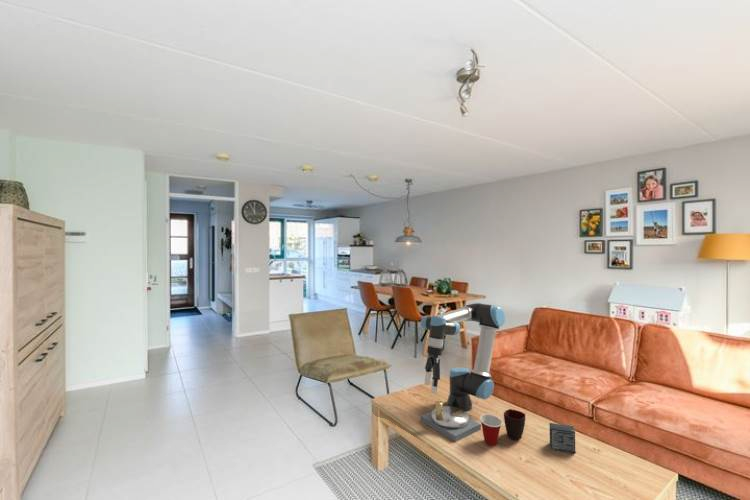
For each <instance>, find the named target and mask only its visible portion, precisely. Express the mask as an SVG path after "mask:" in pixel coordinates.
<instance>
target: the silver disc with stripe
mask: <svg viewBox="0 0 750 500" xmlns="http://www.w3.org/2000/svg"><path fill="white" fill-rule="evenodd" d="M431 411H432V421H433V422H434V423H435V424H437V425H438V426H441V427H444V428H449V429H458V428H462V427H465V426H466V425H467V424H468V422H469V418H470V416H469V414H468V413H467V411H466V412H465V411H463V410H462V409H459V408H456V407H450V406H447V405H444V406H443V401H440V400H436V401H435V408H434V409H432V410H431Z"/></svg>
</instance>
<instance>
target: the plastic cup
mask: <svg viewBox="0 0 750 500" xmlns="http://www.w3.org/2000/svg"><path fill="white" fill-rule="evenodd" d="M479 420H480V424H481V429H482V434H483V440H484V443H485V444H486V445H487V446H490V447H491V446H492V447H494V446H496V445H497V444H498V440H499V435H500V429H501V427H502V425H503V420H502V419H501V418H500V417H498V416H497V415H494V414H489V413H488V414H487V413H485V414H482V415H480V416H479Z"/></svg>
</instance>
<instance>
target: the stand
mask: <svg viewBox="0 0 750 500" xmlns="http://www.w3.org/2000/svg"><path fill="white" fill-rule="evenodd" d="M432 411H433V410H431V411H429V412H426V413H424V414H421V415H420V418H419V419H420V422H421V423H423V424H425V425H426V426H428V427H430V428H432V429H433V430H435V431H437V432H438V433H440V434H442V435H444V436H445V437H447V438H449V439H450V440H452V441H453V442H455V443H456V442H458V441H461V440H462V439H465V438H467V437H469V436H470V435H473V434H475V433H477V432H479V431H481V429H482V424H481V422H478V421H476V420H474V419H472V418H471V417H469V422H468V424H467V425H466V426H465V427H462V428H458V429H449V428H444V427H441V426H438V425H437V424H435V423H434V422H433V421H432Z"/></svg>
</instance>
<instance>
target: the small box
mask: <svg viewBox="0 0 750 500" xmlns="http://www.w3.org/2000/svg"><path fill="white" fill-rule="evenodd" d="M549 446H550V450H551V451H553V450H554V451H559V452H565V453H570V452H571V454H576V431H575V428H574V426H573V425H569V424H561V423H554V422H553V423H552V422H549Z"/></svg>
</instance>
